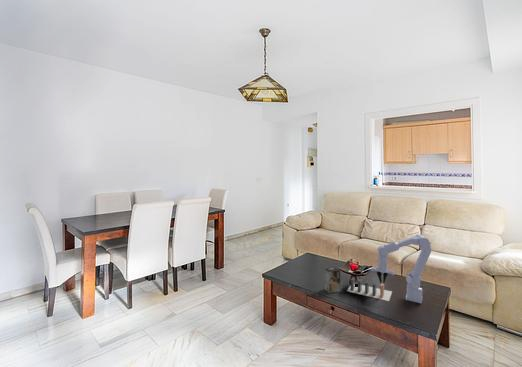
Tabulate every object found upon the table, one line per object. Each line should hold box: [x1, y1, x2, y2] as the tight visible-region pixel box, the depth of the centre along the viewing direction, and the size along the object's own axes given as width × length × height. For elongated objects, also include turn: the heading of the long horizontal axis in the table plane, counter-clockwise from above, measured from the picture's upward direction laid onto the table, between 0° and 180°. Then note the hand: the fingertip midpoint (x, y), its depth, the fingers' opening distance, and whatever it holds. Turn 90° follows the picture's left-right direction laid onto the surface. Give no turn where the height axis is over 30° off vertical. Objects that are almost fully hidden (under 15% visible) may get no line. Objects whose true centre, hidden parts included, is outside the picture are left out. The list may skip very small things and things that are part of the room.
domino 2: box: [357, 278, 363, 292], centre depth 197 cm, size 2×5×8 cm, turn 147°
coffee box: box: [324, 266, 341, 294], centre depth 198 cm, size 9×6×16 cm
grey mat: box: [346, 284, 393, 302], centre depth 197 cm, size 28×16×1 cm, turn 57°
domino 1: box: [350, 276, 356, 291], centre depth 200 cm, size 2×5×8 cm, turn 147°
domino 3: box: [364, 279, 370, 294], centre depth 194 cm, size 2×5×8 cm, turn 148°
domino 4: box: [372, 281, 378, 296], centre depth 192 cm, size 2×5×8 cm, turn 147°
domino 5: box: [379, 282, 385, 298], centre depth 189 cm, size 2×5×8 cm, turn 147°
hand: (382, 282), depth 188 cm, fingers closed
